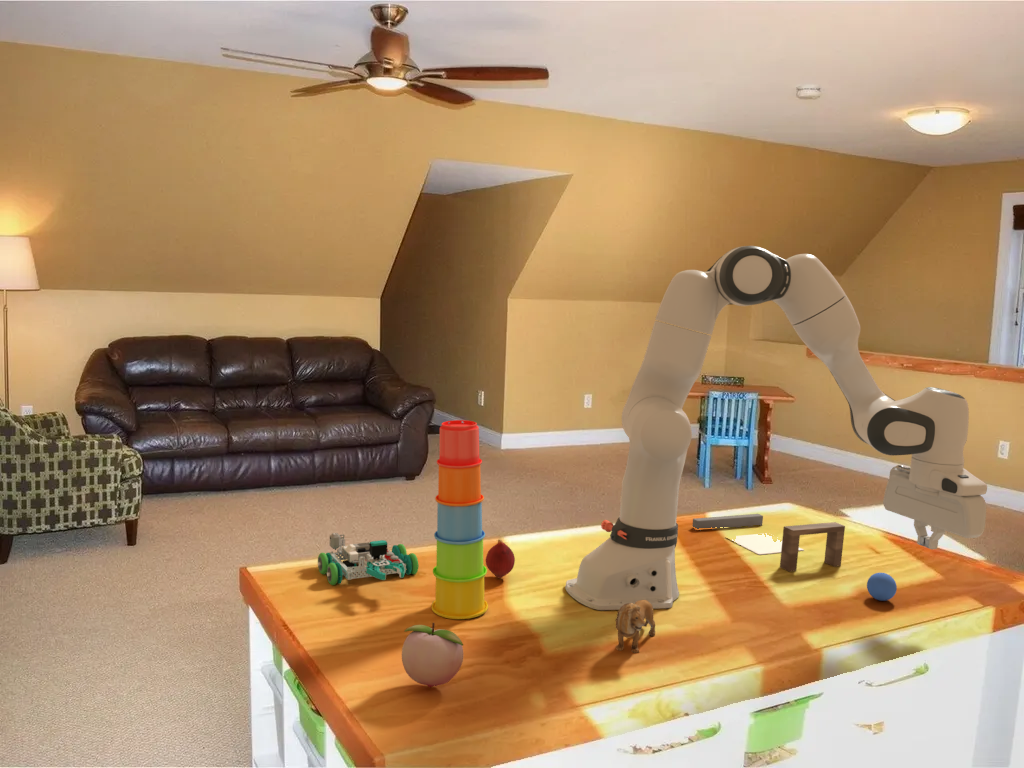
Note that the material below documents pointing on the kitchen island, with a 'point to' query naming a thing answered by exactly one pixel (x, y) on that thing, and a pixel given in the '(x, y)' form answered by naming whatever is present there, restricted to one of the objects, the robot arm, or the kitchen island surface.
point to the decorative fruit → (431, 655)
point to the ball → (881, 586)
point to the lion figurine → (634, 622)
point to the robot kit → (365, 560)
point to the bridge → (793, 533)
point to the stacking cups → (459, 524)
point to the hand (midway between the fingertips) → (927, 546)
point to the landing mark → (760, 544)
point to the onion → (500, 559)
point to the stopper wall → (728, 521)
